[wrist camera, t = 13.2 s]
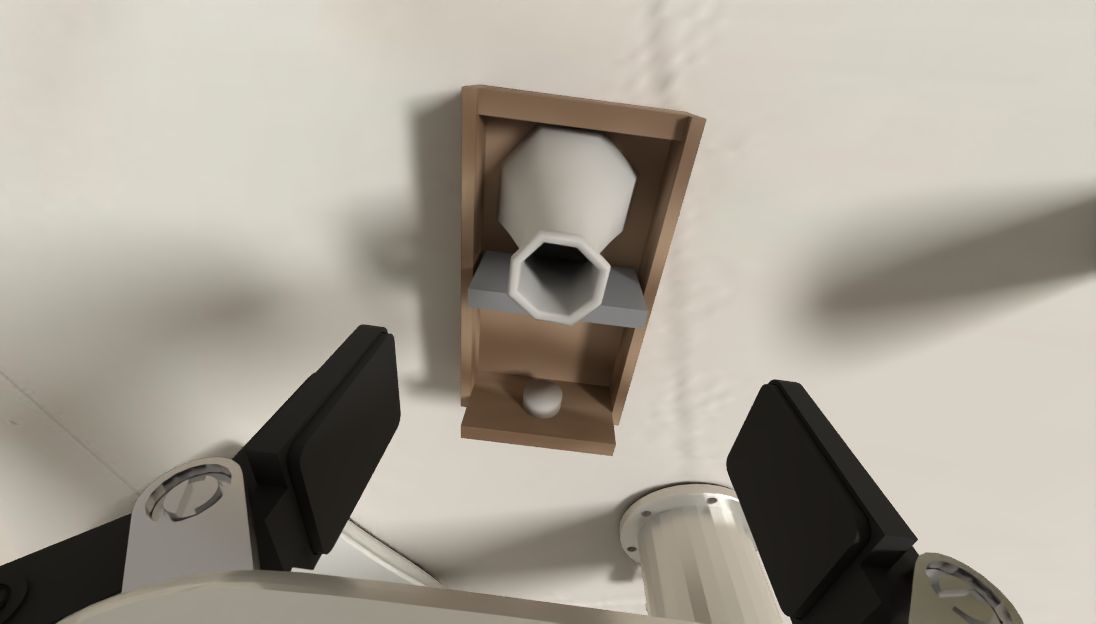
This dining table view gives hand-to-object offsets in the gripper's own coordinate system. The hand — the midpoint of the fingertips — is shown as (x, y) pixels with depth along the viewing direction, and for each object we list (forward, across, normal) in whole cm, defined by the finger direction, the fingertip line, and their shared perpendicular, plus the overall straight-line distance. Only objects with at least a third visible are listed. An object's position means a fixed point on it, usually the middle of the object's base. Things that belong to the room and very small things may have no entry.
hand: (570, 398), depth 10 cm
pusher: (+13, +1, +2) cm, 13 cm away
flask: (+14, +1, -2) cm, 14 cm away
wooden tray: (+14, +1, +2) cm, 15 cm away
